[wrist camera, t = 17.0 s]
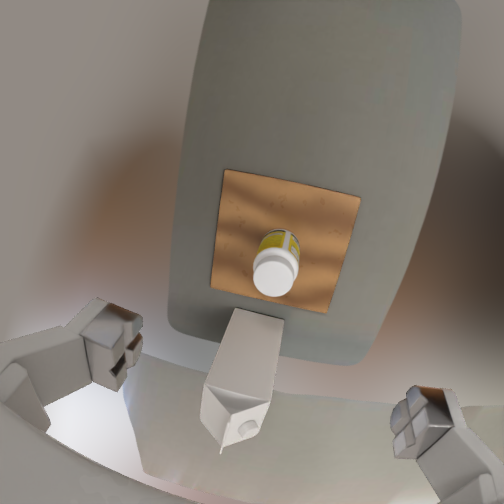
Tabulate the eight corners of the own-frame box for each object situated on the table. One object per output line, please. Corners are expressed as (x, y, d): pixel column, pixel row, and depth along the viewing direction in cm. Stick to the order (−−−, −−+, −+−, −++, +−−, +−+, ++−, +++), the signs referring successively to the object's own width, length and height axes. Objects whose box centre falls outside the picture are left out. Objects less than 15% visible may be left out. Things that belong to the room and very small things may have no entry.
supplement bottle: (254, 253, 39) (240, 286, 31) (271, 221, 37) (261, 248, 29) (289, 270, 39) (283, 307, 31) (307, 239, 37) (306, 271, 29)
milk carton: (228, 343, 46) (189, 445, 29) (235, 306, 43) (191, 412, 26) (273, 354, 46) (251, 461, 29) (284, 318, 43) (265, 431, 26)
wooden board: (226, 168, 36) (224, 169, 35) (360, 197, 34) (361, 198, 34) (211, 285, 43) (210, 287, 42) (326, 311, 41) (326, 313, 41)
